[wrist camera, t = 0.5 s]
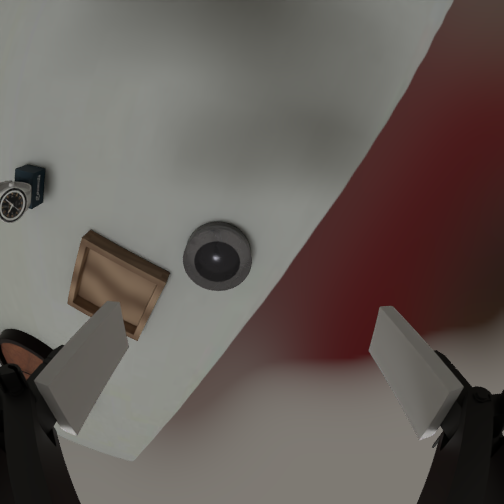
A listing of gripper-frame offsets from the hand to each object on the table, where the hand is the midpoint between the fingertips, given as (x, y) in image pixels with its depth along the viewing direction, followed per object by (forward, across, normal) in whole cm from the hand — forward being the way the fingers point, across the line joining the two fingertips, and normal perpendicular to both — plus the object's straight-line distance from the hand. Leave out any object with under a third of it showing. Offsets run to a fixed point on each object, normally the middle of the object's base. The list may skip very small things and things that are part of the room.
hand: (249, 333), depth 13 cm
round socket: (+26, -4, -4) cm, 26 cm away
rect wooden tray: (+26, -21, -9) cm, 35 cm away
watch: (+22, -34, +8) cm, 41 cm away
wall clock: (+30, -56, -40) cm, 75 cm away
